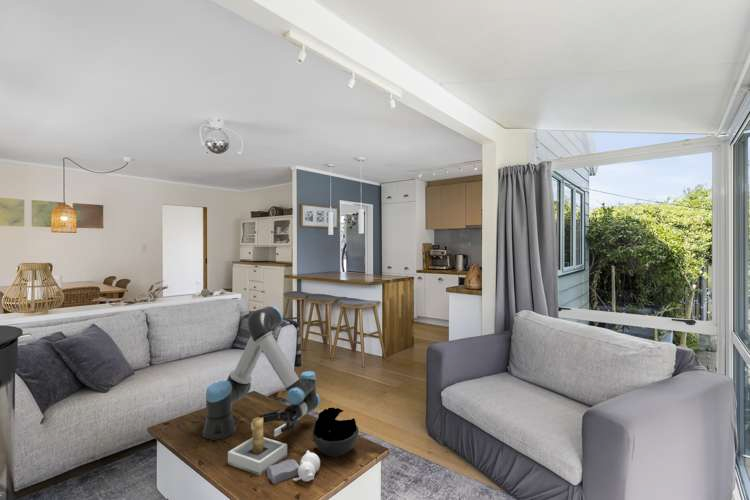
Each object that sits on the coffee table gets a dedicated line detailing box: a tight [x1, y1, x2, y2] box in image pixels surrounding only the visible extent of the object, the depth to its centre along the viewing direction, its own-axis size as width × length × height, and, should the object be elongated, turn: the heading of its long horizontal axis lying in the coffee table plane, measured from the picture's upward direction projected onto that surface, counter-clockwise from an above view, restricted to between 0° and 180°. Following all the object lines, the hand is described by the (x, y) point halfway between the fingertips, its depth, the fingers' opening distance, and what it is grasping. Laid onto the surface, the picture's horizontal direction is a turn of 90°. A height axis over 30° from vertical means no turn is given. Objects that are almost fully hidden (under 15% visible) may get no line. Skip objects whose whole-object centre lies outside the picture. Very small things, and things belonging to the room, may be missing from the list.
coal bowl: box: [312, 407, 360, 458], centre depth 161 cm, size 20×20×19 cm
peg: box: [251, 416, 264, 456], centre depth 157 cm, size 4×4×16 cm
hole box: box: [227, 436, 288, 476], centre depth 157 cm, size 18×16×5 cm
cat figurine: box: [292, 449, 321, 482], centre depth 145 cm, size 9×11×12 cm
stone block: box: [266, 459, 300, 485], centre depth 147 cm, size 12×5×10 cm
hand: (263, 429), depth 159 cm, fingers open, 13 cm apart
